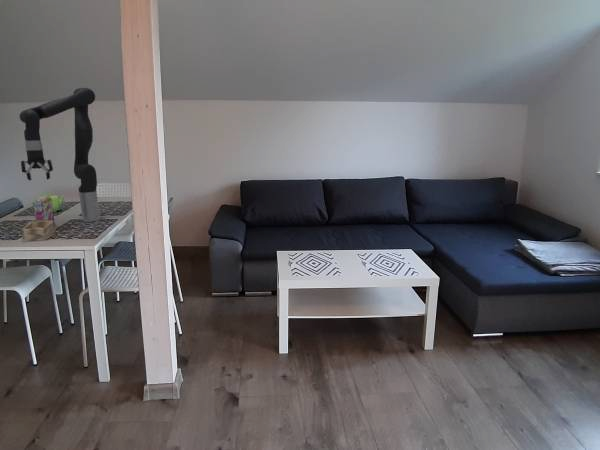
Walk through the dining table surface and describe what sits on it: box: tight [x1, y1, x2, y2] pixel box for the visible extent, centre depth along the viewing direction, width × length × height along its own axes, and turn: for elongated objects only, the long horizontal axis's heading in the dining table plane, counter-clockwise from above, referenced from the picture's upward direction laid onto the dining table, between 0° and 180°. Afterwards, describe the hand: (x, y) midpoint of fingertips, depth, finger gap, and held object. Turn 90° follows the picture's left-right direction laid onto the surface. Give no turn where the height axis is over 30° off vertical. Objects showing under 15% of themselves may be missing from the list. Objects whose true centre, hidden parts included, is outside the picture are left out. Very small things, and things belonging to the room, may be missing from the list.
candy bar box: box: [32, 198, 56, 227], centre depth 242 cm, size 11×5×16 cm, turn 5°
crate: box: [20, 220, 56, 243], centre depth 228 cm, size 11×17×6 cm, turn 17°
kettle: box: [31, 194, 67, 213], centre depth 283 cm, size 15×14×11 cm
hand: (39, 179), depth 237 cm, fingers open, 8 cm apart
